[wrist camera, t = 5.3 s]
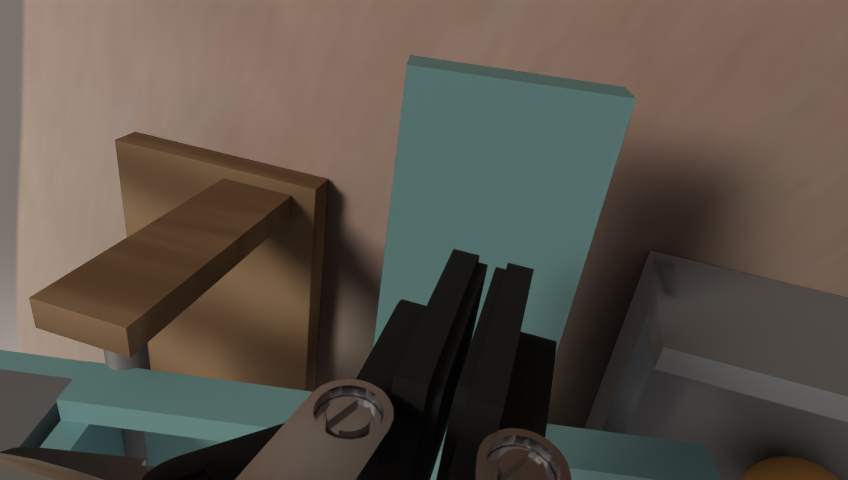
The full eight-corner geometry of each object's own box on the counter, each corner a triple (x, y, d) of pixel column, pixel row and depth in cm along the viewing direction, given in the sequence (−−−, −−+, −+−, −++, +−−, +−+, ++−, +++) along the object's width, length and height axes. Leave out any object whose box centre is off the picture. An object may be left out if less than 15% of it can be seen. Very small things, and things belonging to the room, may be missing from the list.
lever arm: (-168, -36, 14) (-559, -7, 8) (844, 115, 14) (1072, 232, 9) (9, 518, 23) (-122, 694, 18) (607, 595, 24) (651, 788, 19)
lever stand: (134, 131, 25) (-125, 236, 16) (328, 179, 24) (158, 322, 15) (162, 390, 33) (-8, 561, 24) (311, 439, 31) (190, 643, 22)
